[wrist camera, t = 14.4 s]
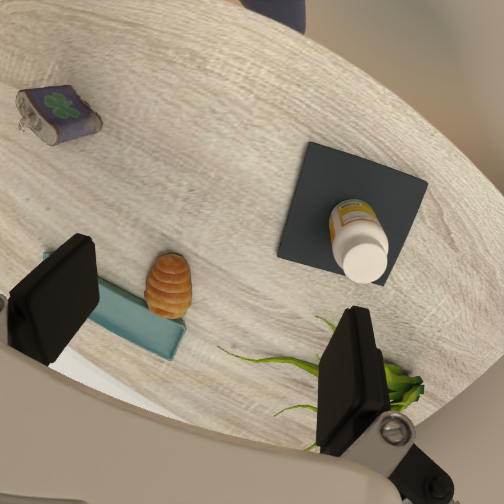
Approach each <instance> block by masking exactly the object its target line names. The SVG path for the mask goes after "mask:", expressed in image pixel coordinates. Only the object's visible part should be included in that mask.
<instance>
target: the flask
mask: <svg viewBox="0 0 504 504" xmlns="http://www.w3.org/2000/svg"><path fill="white" fill-rule="evenodd" d="M15 103H16V106H17V108H18V110H19V112H20V114H21V116H22V119H21V120H20V122H21V124H22V126H23V127H28V128H30V129H31V130H32V131H33V132H34V133H35V134H36V135H37V136H38V137H39V138H40V139H41V140H42V141H44V142H45V143H46V144H47V145H49V146H55V145H58V144H60V143H63V142H66V141H69V140H73V139H76V138H79V137H82V136H85V135H89V134H94V133H97V132H98V131H99V130H100V129H101V127H102V125H103V123H102V121H101V119H100V117H99V115H98V114H97V113H94V112H93V110H92V109H91V108H90V106H89V105H88V103H86V101H83V100H81V99H80V96H78V95H77V94H76V92H75V90H74V89H73V88H72V87H71V85H63V86H49V87H44V88H35V89H34V88H33V89H25V90H20V91H19V92H18V94H17V96H16V100H15ZM17 125H18V128H19V130H21V129H22V127H21V126H20V124H19V123H18V124H17ZM23 132H24V130H23Z"/></svg>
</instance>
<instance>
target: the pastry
mask: <svg viewBox="0 0 504 504" xmlns="http://www.w3.org/2000/svg"><path fill="white" fill-rule="evenodd" d="M144 297H145V299H146V301H147V304H148V307H149V310H150V311H151V313H153V314H154V315H156V316H158V317H161V318H169V319H175V318H178V317H181V316H183V315H184V314H185V313H186V311H187V309H188V308H189V307H190V305H191V299H192V284H191V276H190V269H189V266H188V264H187V262H186V260H185V259H184V258H183V257H181V256H178V255H176V254H167V255H164V256H161V257H159V258H158V259H157V261H156V263H155V265H154V266H153V267H152V269H151V272H150V274H149V276H148V277H147V280H146V290H145V291H144Z"/></svg>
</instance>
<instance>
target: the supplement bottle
mask: <svg viewBox="0 0 504 504" xmlns="http://www.w3.org/2000/svg"><path fill="white" fill-rule="evenodd" d="M329 228H330V235H331V242H332V250H333V255H334V258H335V260H336V262H337V264H338V265H339V266H340V267H341V268H342V269H343V270H344V273H345V275H346V276H347V277H348V278H349V279H350V280H352V281H354V282H356V283H362V284H364V283H370V282H373V281H375V280H377V279H378V278H379V277H380V276H381V275H382V274H383V273H384V271H385V269H386V267H387V254H388V240H387V237H386V235H385V232H384V231H383V229H382V227H381V225H380V223H379V221H378V219H377V217H376V215H375V213H374V211H373V210H372V208H371V207H370V206H369V205H368V204H367V203H365V202H363V201H361V200H356V199H350V200H345V201H343V202H341V203H339V204H338V205H337V206H336V207H335V208H334V209H333V211H332V212H331V215H330V218H329Z"/></svg>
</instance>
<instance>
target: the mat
mask: <svg viewBox="0 0 504 504" xmlns="http://www.w3.org/2000/svg"><path fill="white" fill-rule="evenodd" d="M427 186H428V183H427V182H426V181H424V180H421V179H419V178H416V177H414V176H411V175H409V174H406V173H403V172H401V171H398V170H395V169H393V168H390V167H387V166H384V165H382V164H379V163H376V162H373V161H370V160H367V159H364V158H361V157H358V156H355V155H352V154H349V153H346V152H343V151H340V150H336V149H333V148H330V147H327V146H323V145H320V144H316V143H313V142H309V146H308V150H307V153H306V157H305V160H304V164H303V168H302V171H301V175H300V178H299V182H298V185H297V189H296V192H295V196H294V199H293V203H292V206H291V210H290V213H289V217H288V220H287V224H286V227H285V230H284V234H283V237H282V241H281V244H280V247H279V251H278V255H277V257H278V258H282V259H286V260H289V261H293V262H297V263H300V264H304V265H308V266H311V267H315V268H319V269H322V270H326V271H330V272H333V273H337V274H341V275H344V276H346V275H345V273H344V270H343V269H342V268H341V267H340V266H339V265H338V264H337V262H336V260H335V258H334V255H333V250H332V242H331V235H330V228H329V218H330V215H331V212H332V211H333V209H334V208H335V207H336V206H337V205H338V204H339V203H341V202H343V201H345V200H350V199H356V200H361V201H363V202H365V203H367V204H368V205H369V206H370V207H371V208H372V210H373V211H374V213H375V215H376V217H377V219H378V221H379V223H380V225H381V227H382V229H383V231H384V232H385V235H386V237H387V240H388V254H387V267H386V269H385V271H384V273H383V274H382V275H381V276H380V277H379V278H378V279H377V280H375V281H373V282H370V283H373V284H377V285H381V286H384V284H385V282H386V280H387V278H388V276H389V274H390V272H391V270H392V268H393V266H394V264H395V262H396V260H397V258H398V255H399V253H400V251H401V249H402V247H403V244H404V242H405V240H406V238H407V235H408V233H409V231H410V228H411V226H412V224H413V221H414V219H415V217H416V214H417V212H418V209H419V207H420V204H421V202H422V199H423V197H424V194H425V192H426V189H427Z"/></svg>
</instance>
